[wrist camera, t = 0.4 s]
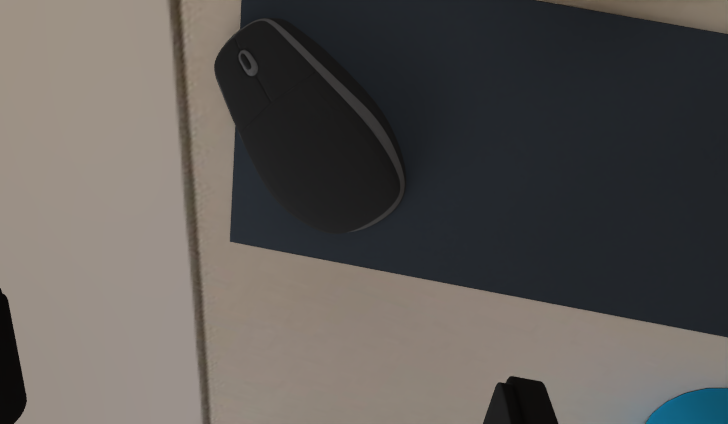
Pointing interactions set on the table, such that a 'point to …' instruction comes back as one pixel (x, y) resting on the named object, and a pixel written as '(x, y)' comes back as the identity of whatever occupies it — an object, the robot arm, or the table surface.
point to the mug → (694, 408)
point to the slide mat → (530, 153)
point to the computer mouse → (310, 128)
